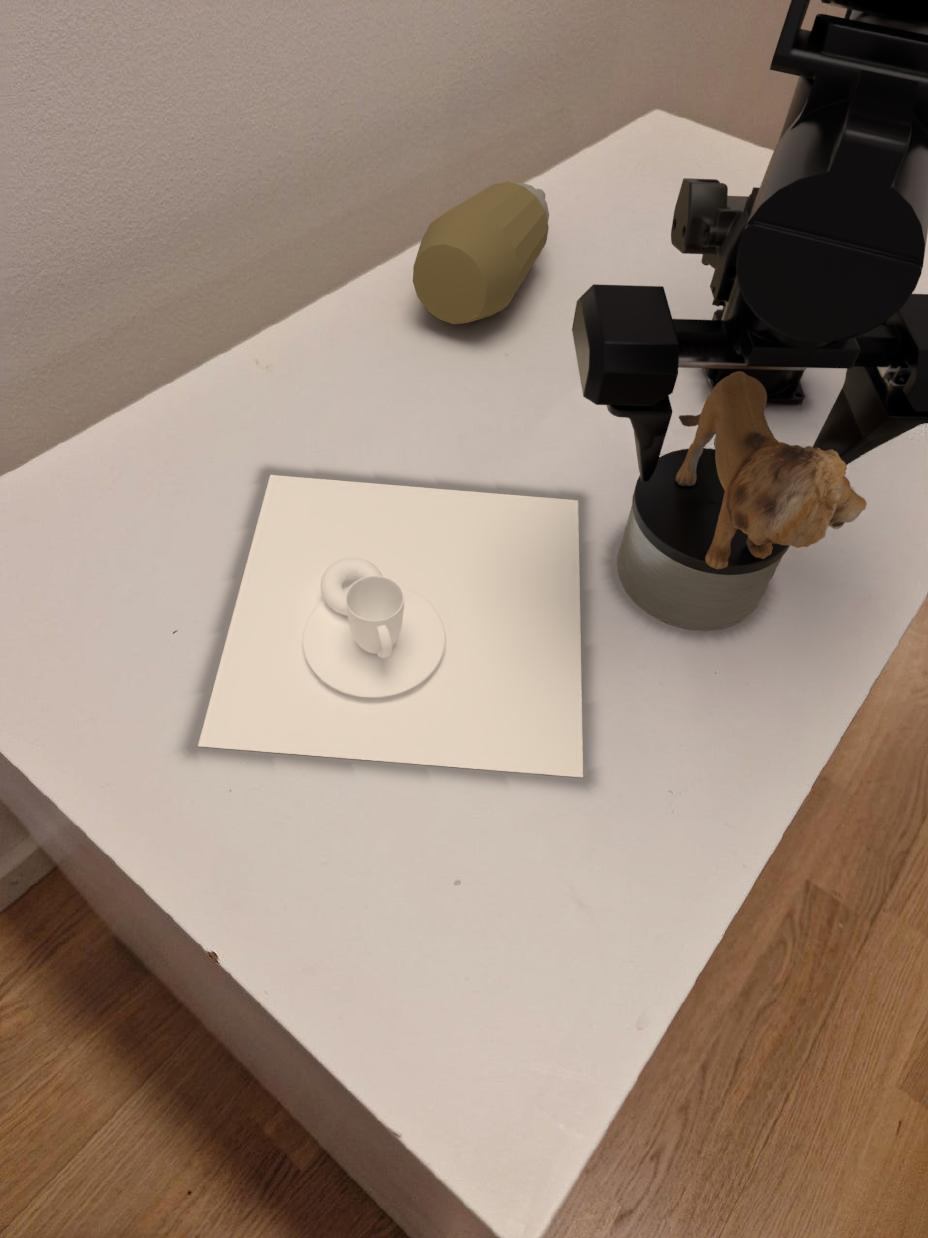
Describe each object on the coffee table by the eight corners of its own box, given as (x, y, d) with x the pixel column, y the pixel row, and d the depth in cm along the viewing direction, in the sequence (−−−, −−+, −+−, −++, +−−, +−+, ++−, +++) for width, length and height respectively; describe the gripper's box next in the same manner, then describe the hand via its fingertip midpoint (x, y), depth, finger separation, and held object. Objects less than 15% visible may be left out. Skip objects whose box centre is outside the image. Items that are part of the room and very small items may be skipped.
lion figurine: (826, 607, 48) (900, 482, 41) (731, 623, 47) (791, 498, 40) (716, 419, 57) (762, 289, 49) (634, 429, 56) (668, 298, 48)
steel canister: (747, 518, 60) (776, 448, 55) (780, 633, 55) (817, 567, 50) (606, 516, 59) (624, 445, 55) (626, 632, 54) (648, 565, 49)
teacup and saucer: (317, 571, 55) (312, 525, 52) (450, 582, 55) (453, 536, 52) (292, 696, 50) (284, 652, 47) (439, 708, 50) (442, 665, 47)
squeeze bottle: (481, 358, 69) (564, 260, 81) (514, 263, 63) (599, 171, 74) (387, 307, 70) (483, 217, 81) (411, 208, 63) (511, 125, 75)
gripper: (979, 117, 44) (851, 384, 56) (585, 100, 42) (543, 377, 55) (1083, 250, 37) (910, 520, 49) (618, 235, 36) (562, 516, 48)
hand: (726, 476), depth 51 cm, fingers open, 9 cm apart
